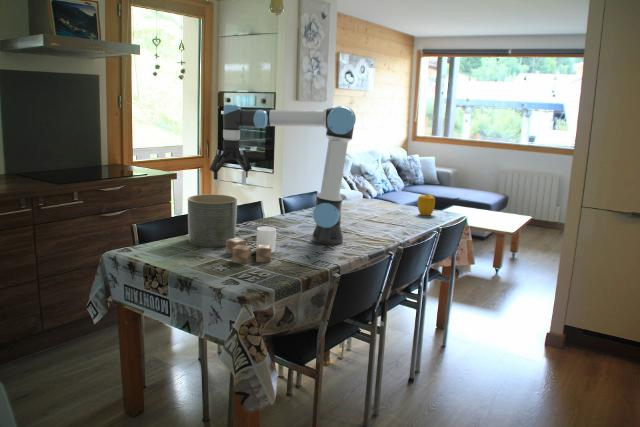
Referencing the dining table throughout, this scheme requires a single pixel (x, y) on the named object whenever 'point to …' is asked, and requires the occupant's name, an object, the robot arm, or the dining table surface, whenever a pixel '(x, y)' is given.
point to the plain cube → (241, 254)
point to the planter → (211, 219)
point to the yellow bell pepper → (426, 204)
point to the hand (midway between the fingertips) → (230, 185)
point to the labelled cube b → (263, 253)
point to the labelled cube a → (233, 244)
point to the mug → (266, 237)
